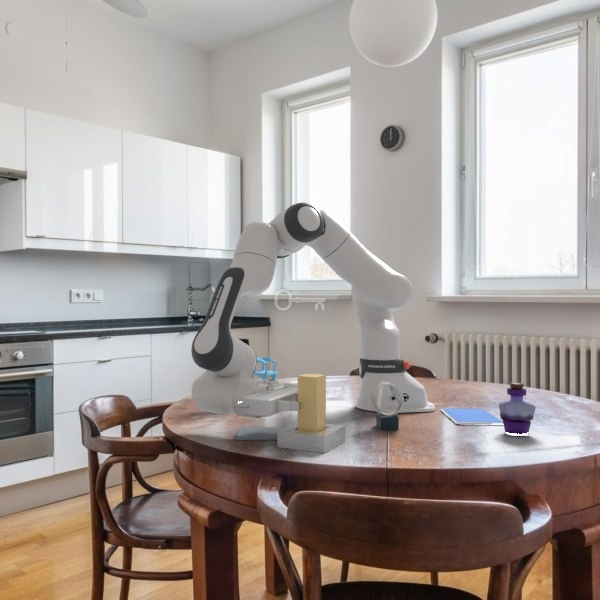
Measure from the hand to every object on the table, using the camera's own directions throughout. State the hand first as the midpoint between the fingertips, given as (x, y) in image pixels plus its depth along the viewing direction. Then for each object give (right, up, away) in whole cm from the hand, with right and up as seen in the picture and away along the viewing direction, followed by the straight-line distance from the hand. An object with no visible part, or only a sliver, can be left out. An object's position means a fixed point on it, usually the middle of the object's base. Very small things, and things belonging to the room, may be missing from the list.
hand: (309, 402), depth 126 cm
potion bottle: (+48, -9, +9) cm, 50 cm away
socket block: (0, -9, 0) cm, 9 cm away
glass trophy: (+19, -9, +16) cm, 27 cm away
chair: (-14, -9, +68) cm, 70 cm away
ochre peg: (0, -9, 0) cm, 9 cm away
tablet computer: (+43, -10, +28) cm, 53 cm away
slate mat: (-12, -9, +9) cm, 17 cm away
